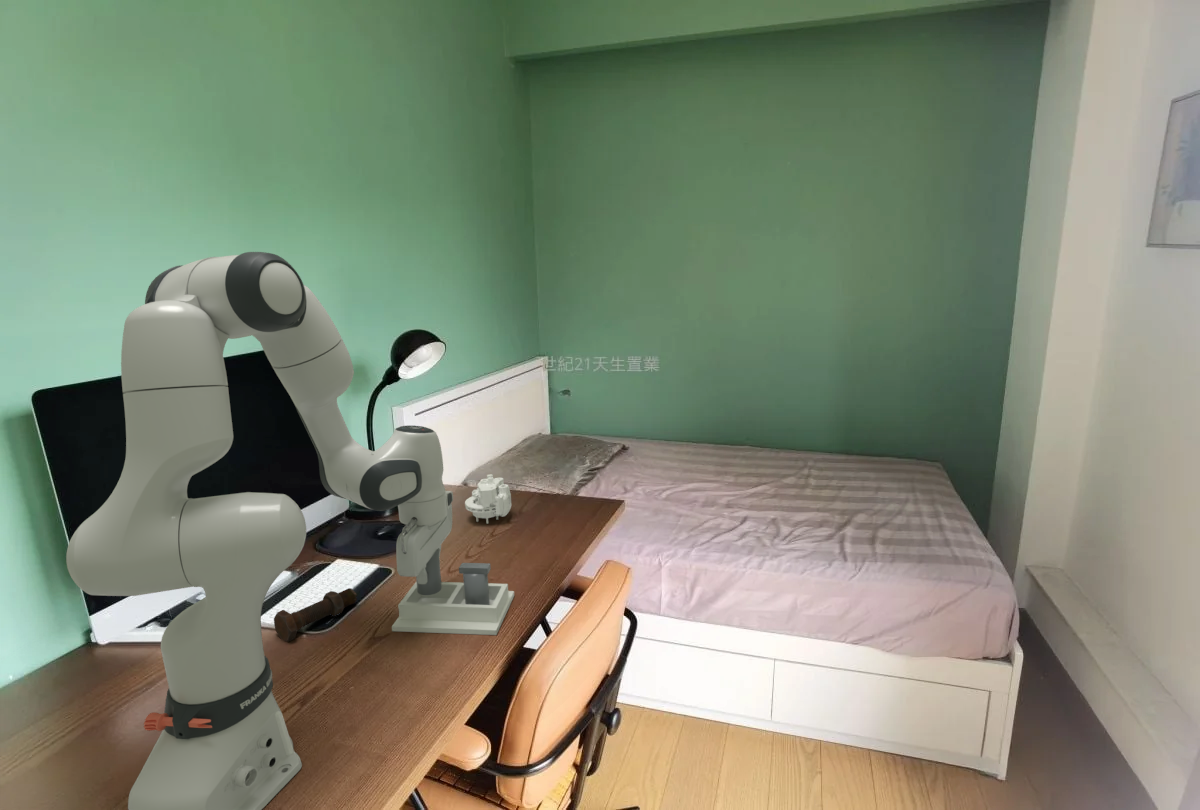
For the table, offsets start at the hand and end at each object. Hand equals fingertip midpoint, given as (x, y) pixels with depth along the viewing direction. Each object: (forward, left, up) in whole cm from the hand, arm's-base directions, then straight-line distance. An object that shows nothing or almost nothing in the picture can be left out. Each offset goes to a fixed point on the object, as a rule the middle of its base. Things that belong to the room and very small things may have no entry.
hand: (429, 574), depth 123 cm
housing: (0, -5, -8) cm, 9 cm away
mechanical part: (+45, +1, -8) cm, 46 cm away
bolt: (-5, +21, -8) cm, 23 cm away
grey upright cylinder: (0, 0, -3) cm, 3 cm away
